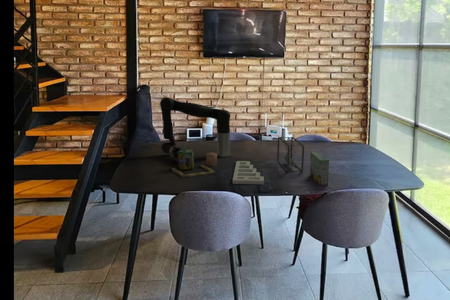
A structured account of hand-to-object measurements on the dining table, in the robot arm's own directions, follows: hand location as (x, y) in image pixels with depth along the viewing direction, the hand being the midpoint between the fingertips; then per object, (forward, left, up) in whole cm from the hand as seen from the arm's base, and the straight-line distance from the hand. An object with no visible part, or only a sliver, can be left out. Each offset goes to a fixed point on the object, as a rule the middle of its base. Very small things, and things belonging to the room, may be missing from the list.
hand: (184, 157), depth 293 cm
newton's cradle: (-63, +30, -7) cm, 70 cm away
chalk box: (+1, +5, -6) cm, 8 cm away
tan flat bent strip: (0, +15, -6) cm, 16 cm away
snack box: (-61, +63, -6) cm, 88 cm away
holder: (-30, +33, -7) cm, 46 cm away
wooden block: (-17, +5, -6) cm, 19 cm away
